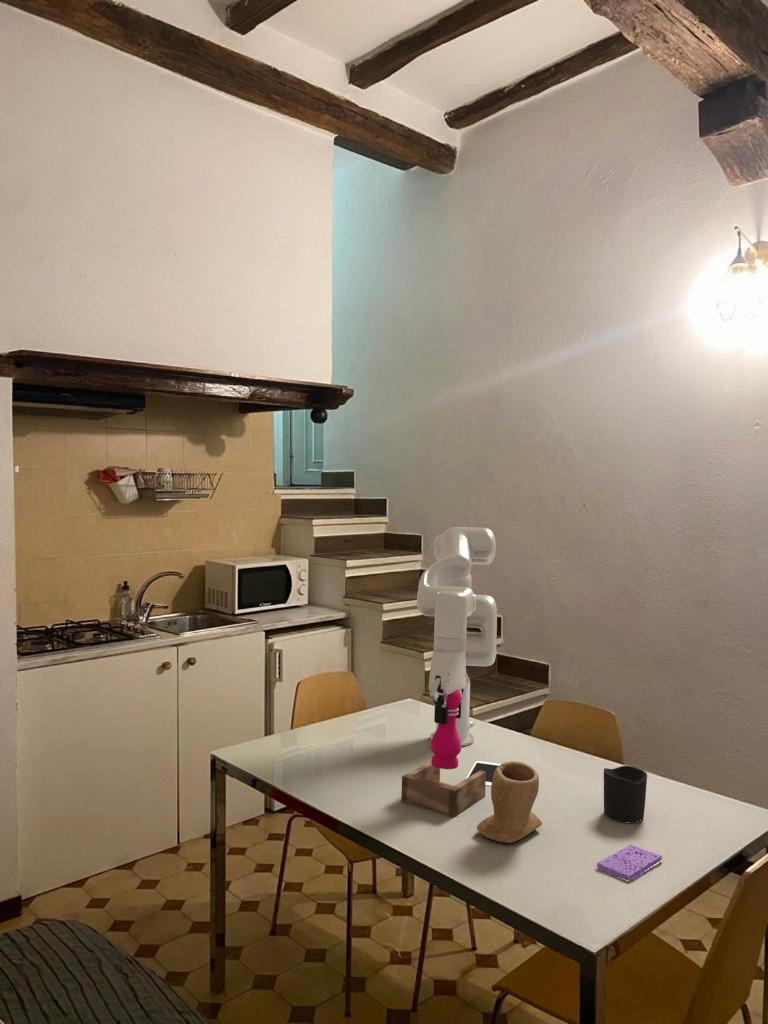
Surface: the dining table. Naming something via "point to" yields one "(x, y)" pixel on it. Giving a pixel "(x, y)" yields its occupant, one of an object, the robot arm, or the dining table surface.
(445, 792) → the holder
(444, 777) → the dining table surface
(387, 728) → the dining table surface
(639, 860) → the sponges
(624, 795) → the pen holder
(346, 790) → the dining table surface
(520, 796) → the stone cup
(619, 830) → the dining table surface
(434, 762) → the pepper mill
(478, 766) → the cell phone
